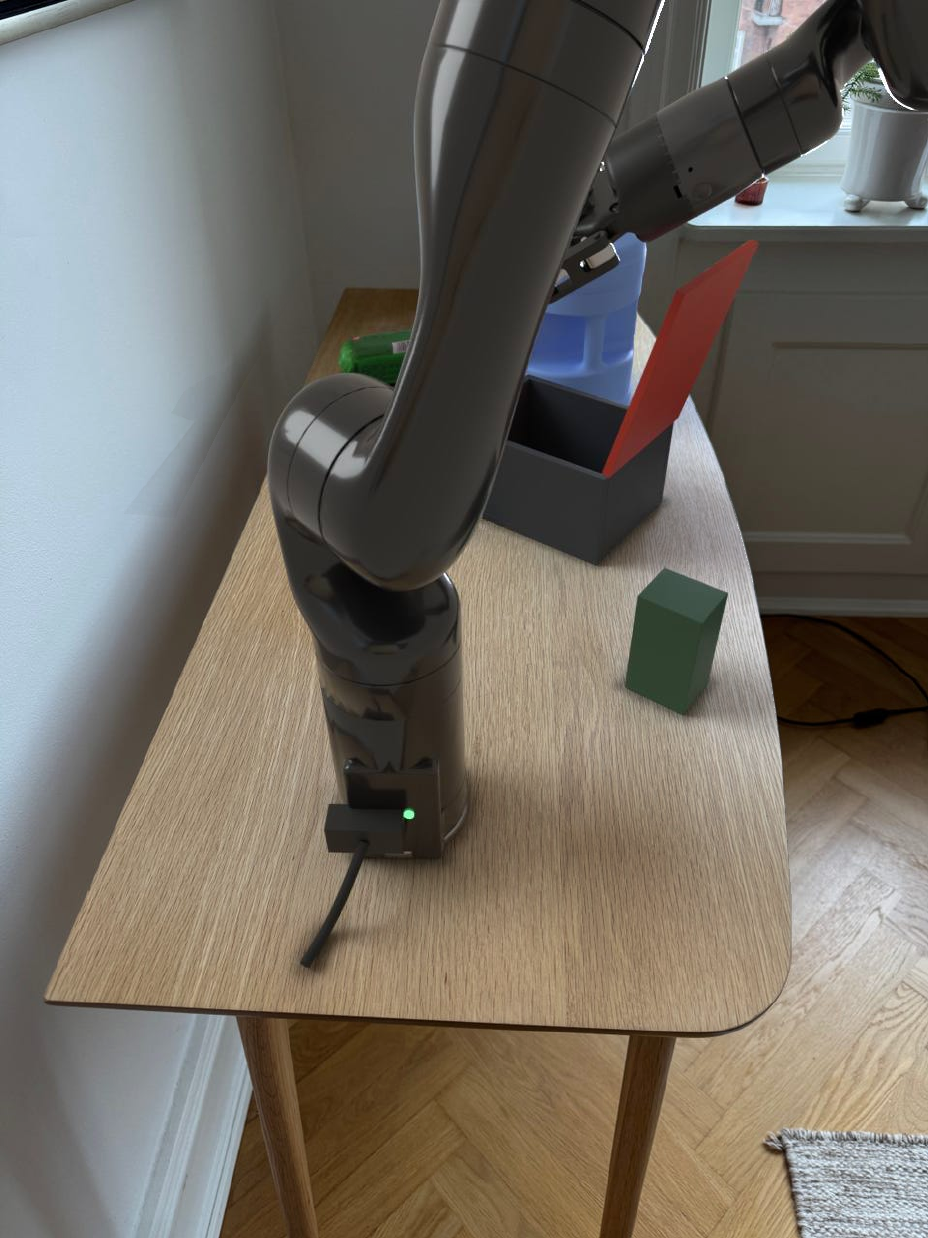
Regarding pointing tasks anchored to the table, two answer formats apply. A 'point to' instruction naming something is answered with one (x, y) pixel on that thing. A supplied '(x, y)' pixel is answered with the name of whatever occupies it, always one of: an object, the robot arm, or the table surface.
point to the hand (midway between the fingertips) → (488, 272)
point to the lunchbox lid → (679, 354)
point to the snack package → (376, 355)
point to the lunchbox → (573, 472)
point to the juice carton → (674, 639)
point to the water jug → (594, 330)
